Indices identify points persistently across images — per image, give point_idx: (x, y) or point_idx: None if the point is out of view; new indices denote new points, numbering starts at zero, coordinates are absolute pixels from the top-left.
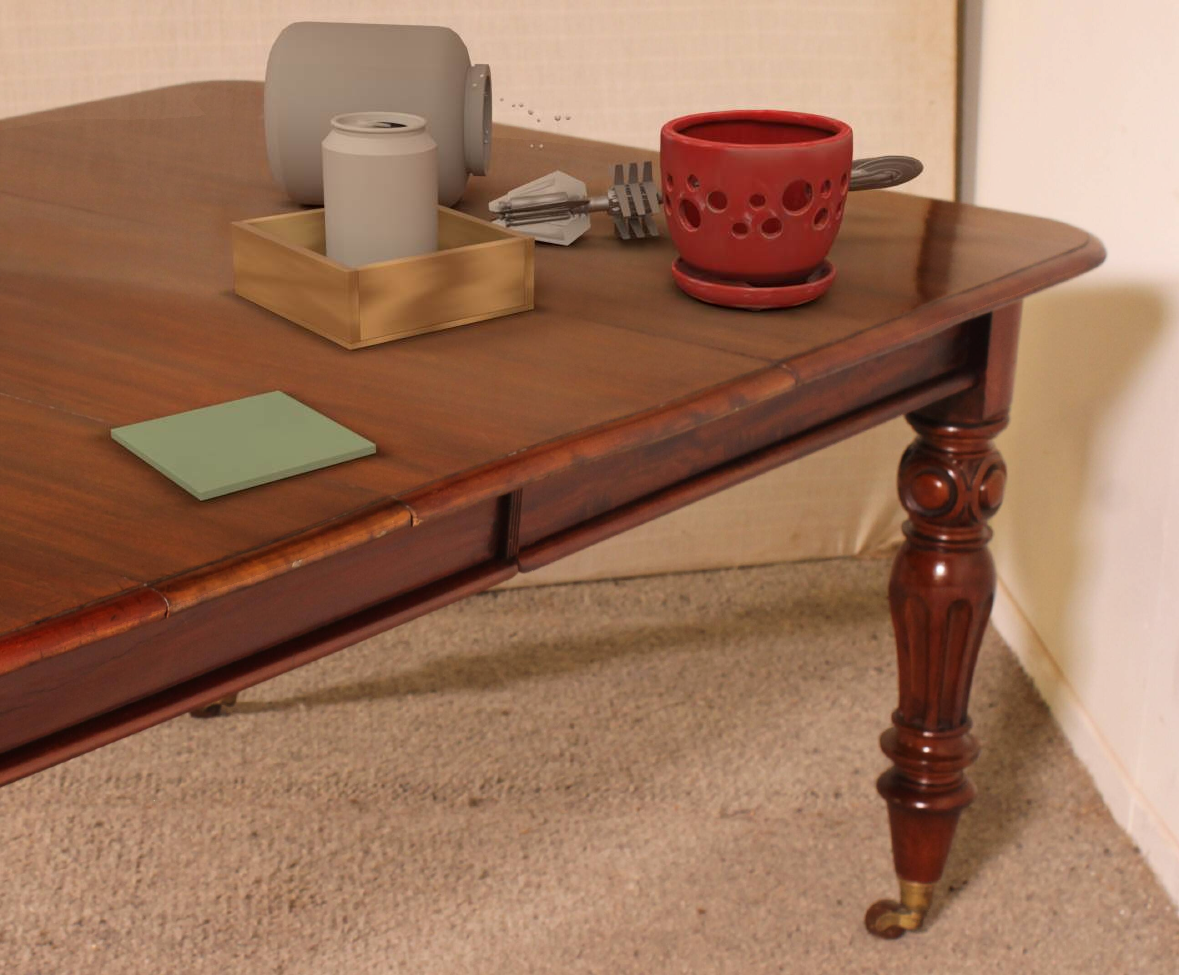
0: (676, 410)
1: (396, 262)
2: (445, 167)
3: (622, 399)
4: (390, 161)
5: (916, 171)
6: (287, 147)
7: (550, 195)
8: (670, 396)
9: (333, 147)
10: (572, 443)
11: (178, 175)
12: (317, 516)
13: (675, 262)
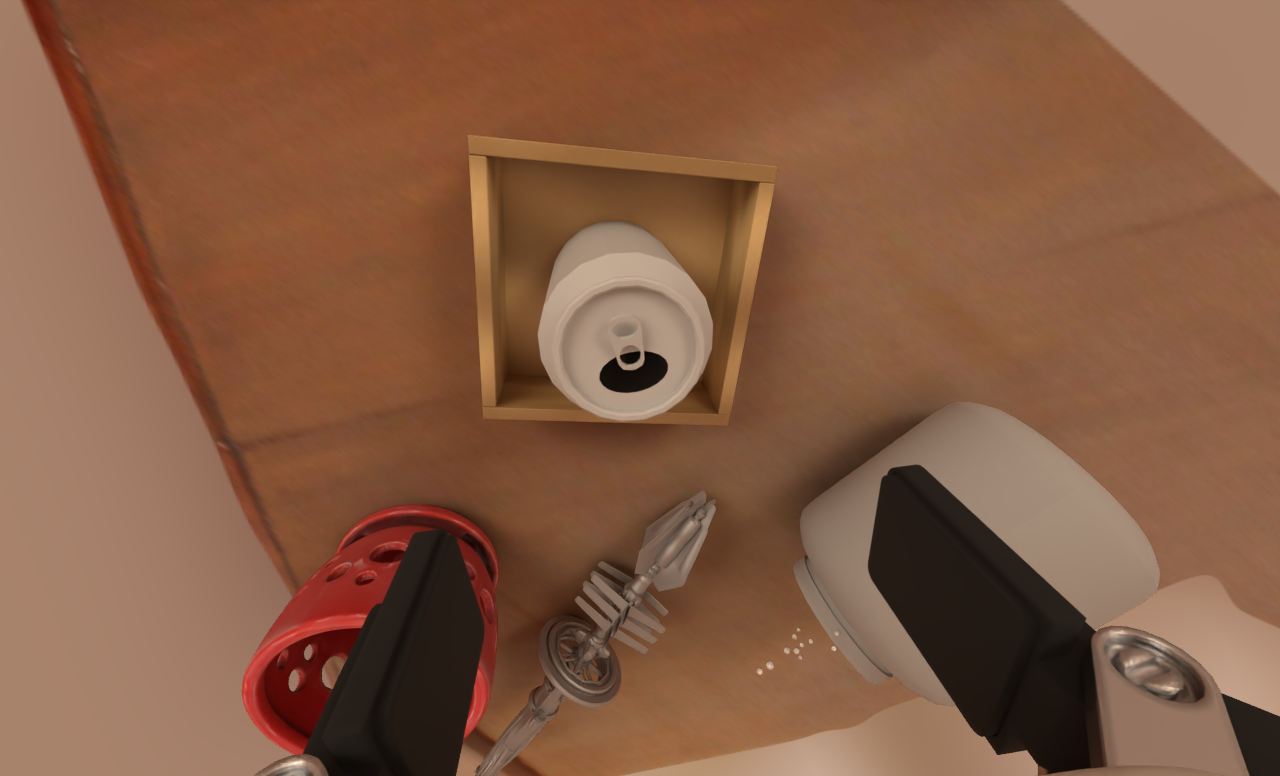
0: (141, 285)
1: (473, 219)
2: (802, 526)
3: (195, 266)
4: (546, 300)
5: None
6: (966, 418)
7: (669, 554)
8: (184, 309)
9: (630, 256)
10: (81, 128)
11: (1146, 393)
12: None
13: (472, 534)
